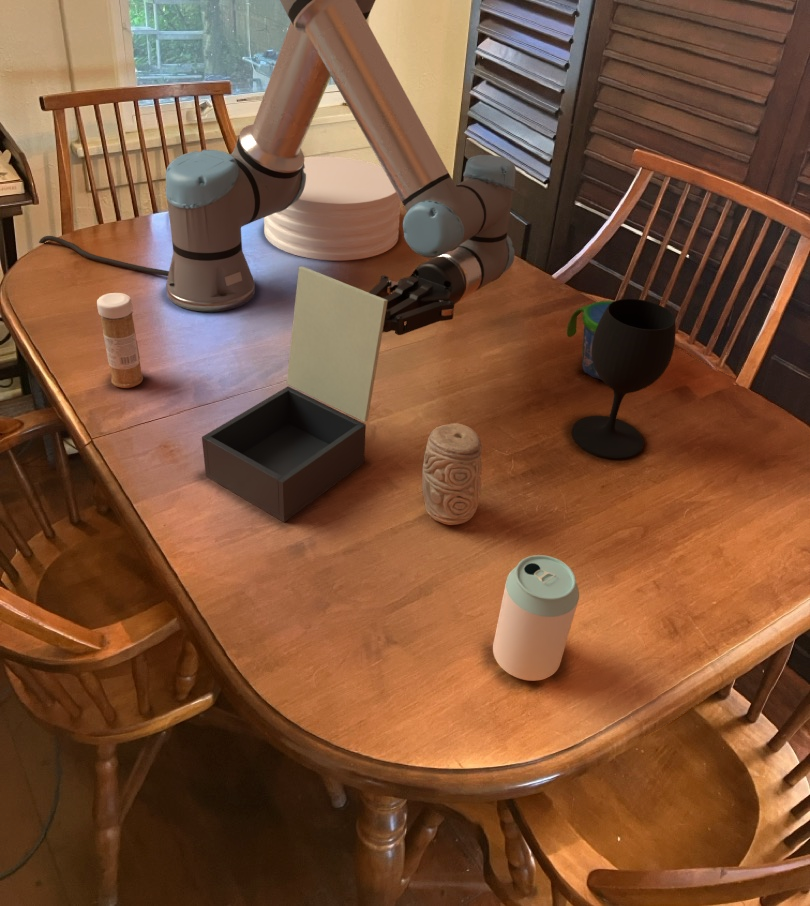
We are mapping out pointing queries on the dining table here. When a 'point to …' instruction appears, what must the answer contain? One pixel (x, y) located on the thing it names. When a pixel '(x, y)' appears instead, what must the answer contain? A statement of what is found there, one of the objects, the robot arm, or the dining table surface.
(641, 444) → the wine glass
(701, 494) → the dining table surface
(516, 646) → the can
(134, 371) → the sprinkles bottle
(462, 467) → the carving
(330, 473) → the dark grey box
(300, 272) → the cover
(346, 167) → the plate stack
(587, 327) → the snack cup
